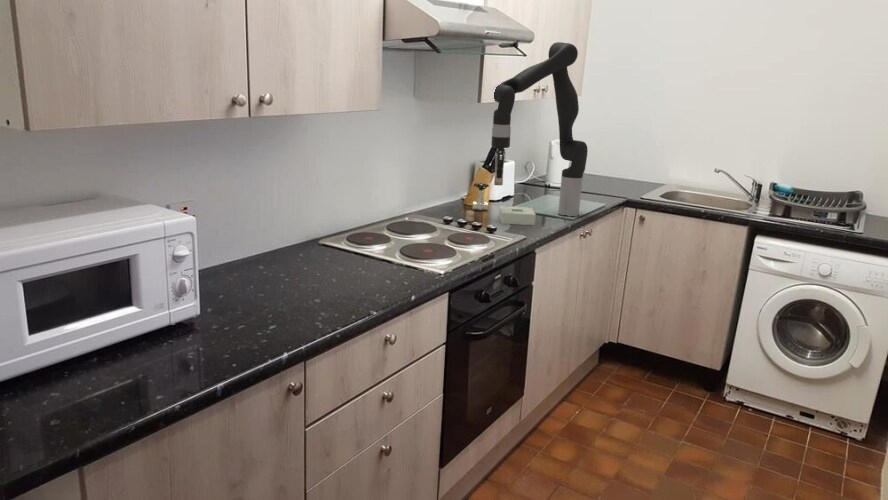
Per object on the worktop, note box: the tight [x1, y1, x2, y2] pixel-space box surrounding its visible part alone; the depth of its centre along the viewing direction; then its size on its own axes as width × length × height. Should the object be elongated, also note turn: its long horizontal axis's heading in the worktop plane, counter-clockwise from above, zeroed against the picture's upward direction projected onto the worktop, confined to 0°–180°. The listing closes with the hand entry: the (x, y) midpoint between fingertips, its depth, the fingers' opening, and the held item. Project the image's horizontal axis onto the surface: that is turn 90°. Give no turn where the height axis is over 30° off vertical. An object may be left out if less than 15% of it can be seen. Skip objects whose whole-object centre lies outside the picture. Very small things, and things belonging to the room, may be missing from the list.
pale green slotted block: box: [498, 205, 537, 226], centre depth 275 cm, size 14×14×4 cm
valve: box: [472, 182, 490, 211], centre depth 292 cm, size 7×7×12 cm
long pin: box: [493, 160, 505, 186], centre depth 270 cm, size 4×4×10 cm
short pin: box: [465, 209, 475, 223], centre depth 272 cm, size 4×4×4 cm
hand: (498, 177), depth 270 cm, fingers closed on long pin, 3 cm apart
